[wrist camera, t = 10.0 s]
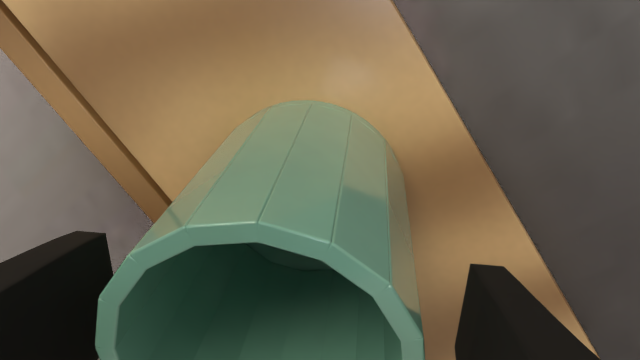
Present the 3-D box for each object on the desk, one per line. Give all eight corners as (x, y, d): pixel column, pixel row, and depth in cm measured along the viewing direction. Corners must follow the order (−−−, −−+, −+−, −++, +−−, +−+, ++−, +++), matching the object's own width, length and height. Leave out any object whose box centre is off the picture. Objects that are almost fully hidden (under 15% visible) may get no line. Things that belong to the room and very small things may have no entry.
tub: (444, 181, 13) (501, 363, 7) (325, 299, 15) (292, 516, 9) (287, 57, 12) (201, 148, 6) (183, 200, 14) (44, 373, 8)
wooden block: (586, 334, 18) (619, 392, 15) (372, 414, 21) (372, 473, 18) (266, -218, 12) (239, -263, 9) (31, 1, 15) (-35, 9, 12)
